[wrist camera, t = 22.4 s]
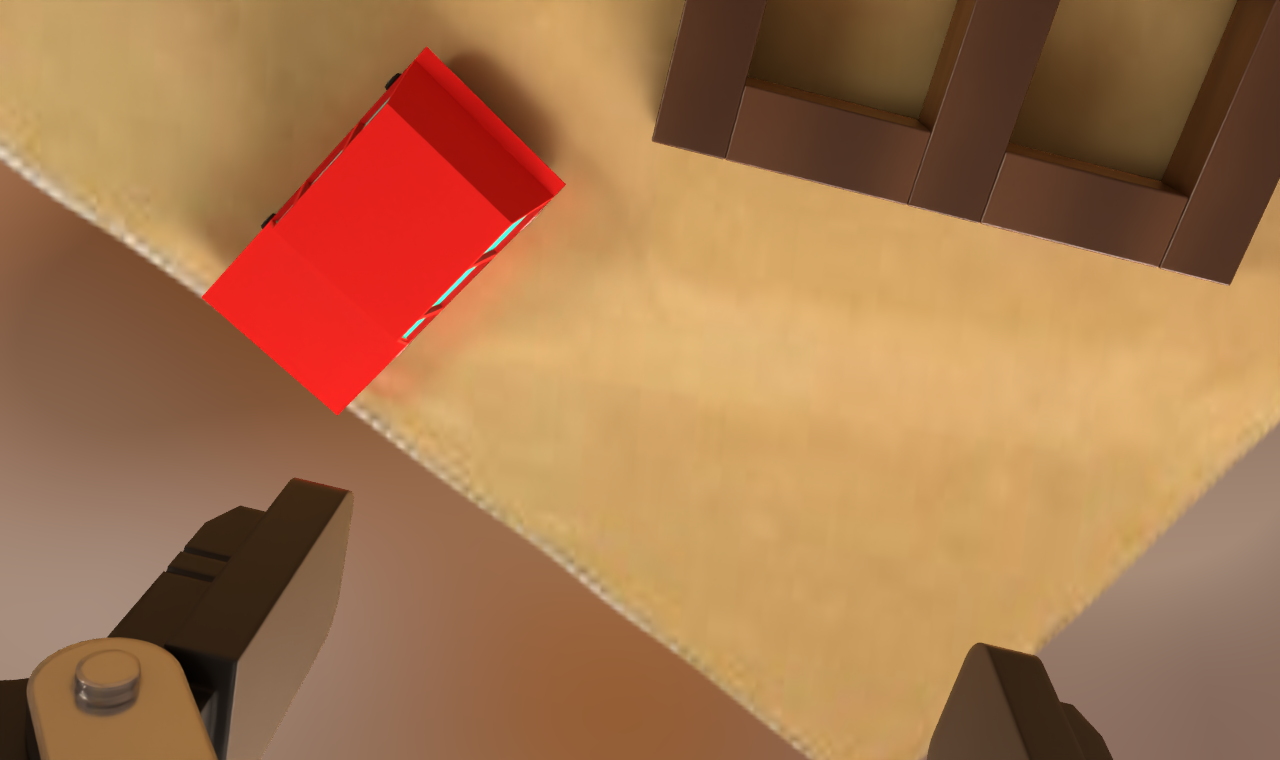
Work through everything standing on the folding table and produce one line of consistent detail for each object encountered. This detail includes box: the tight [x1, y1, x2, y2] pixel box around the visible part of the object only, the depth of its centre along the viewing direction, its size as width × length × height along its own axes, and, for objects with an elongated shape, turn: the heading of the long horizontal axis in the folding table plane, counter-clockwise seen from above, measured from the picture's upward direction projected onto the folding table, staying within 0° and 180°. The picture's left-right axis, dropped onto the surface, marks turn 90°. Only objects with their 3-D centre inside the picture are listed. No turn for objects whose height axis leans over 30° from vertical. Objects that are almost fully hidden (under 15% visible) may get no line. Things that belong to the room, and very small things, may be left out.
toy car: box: [202, 47, 566, 415], centre depth 38 cm, size 6×12×4 cm, turn 135°
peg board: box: [652, 0, 1280, 286], centre depth 35 cm, size 19×11×2 cm, turn 77°
